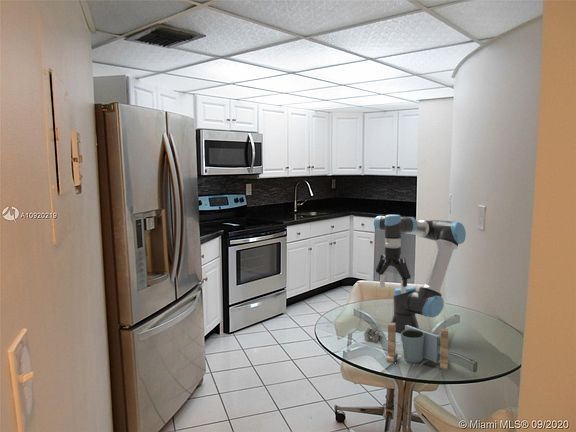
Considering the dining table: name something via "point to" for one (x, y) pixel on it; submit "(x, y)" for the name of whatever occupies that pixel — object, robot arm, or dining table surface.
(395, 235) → the robot arm
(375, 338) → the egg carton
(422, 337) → the grey blue cup
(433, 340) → the door
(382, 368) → the dining table surface
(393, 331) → the door frame
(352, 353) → the dining table surface
